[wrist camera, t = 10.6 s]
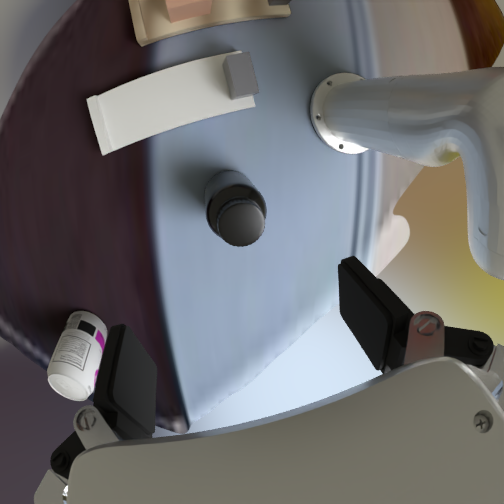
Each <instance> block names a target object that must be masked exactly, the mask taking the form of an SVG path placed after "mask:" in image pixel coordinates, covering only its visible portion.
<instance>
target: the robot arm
mask: <svg viewBox="0 0 504 504" xmlns="http://www.w3.org/2000/svg"><path fill="white" fill-rule="evenodd" d="M327 83H328V85H327ZM310 114H311V120H312V123H313V126H314V129H315V131H316V132H317V134H318V136H319V137H320V138H321V140H322V141H323V142H324V143H325V144H327V145H328V146H329V147H331V148H332V149H334V150H336V151H339V152H342V153H346V154H358V153H362V152H364V151H367V150H368V149H372V150H375V151H379V152H383V153H386V154H389V155H393V156H396V157H399V158H403V159H406V160H409V161H412V162H415V163H418V164H422V165H425V166H433V167H435V166H442V165H446V164H448V163H450V162H452V161H453V160H455V159H456V158H458V157H459V156H461V157H462V161H463V165H464V171H465V180H466V188H467V208H468V209H467V210H468V241H469V247H470V251H471V254H472V256H473V258H474V260H475V261H476V263H477V264H478V265H479V267H480V268H481V269H482V270H484V271H485V272H486V273H488V274H489V275H491V276H493V277H496V278H498V279H501V280H504V67H491V68H483V69H475V70H469V71H462V72H453V73H442V74H425V75H409V76H395V77H384V78H374V79H364V78H363V77H361V76H359V75H356V74H352V73H338V74H334V75H331V76H329V77H327V78H325V79H324V80H323V81H322V82H320V83H319V85H318V86H317V87H316V89H315V91H314V93H313V95H312V99H311V104H310ZM316 116H317V117H318V118H317V119H316ZM338 278H339V302H340V314H341V316H342V318H343V320H344V321H345V323H346V324H347V326H348V327H349V329H350V330H351V331H352V333H353V335H354V336H355V338H356V339H357V341H358V342H359V344H360V345H361V347H362V348H363V350H364V351H365V353H366V355H367V356H368V358H369V359H370V361H371V362H372V364H373V366H374V367H375V369H376V370H381V372H382V373H383V374H382V375H380V376H378V377H376V378H374V379H371V380H369V381H367V382H365V383H362V384H360V385H357V386H355V387H352V388H350V389H348V390H345V391H343V392H340V393H338V394H335V395H333V396H330V397H328V398H325V399H322V400H320V401H317V402H314V403H311V404H308V405H305V406H302V407H299V408H296V409H293V410H290V411H286V412H283V413H280V414H276V415H273V416H269V417H265V418H262V419H258V420H254V421H250V422H246V423H242V424H238V425H233V426H228V427H223V428H218V429H213V430H208V431H202V432H197V433H190V434H183V435H175V436H166V437H158V438H152V433H154V432H155V404H156V381H157V367H156V365H155V363H154V361H153V360H152V359H151V357H150V356H149V355H148V353H147V352H146V350H145V349H144V348H143V346H142V345H141V343H140V342H139V340H138V339H137V338H136V336H135V335H134V333H133V332H132V330H131V329H130V327H129V326H126V325H124V324H120V325H116V326H112V327H111V329H110V333H109V336H108V340H107V343H106V347H105V351H104V355H103V359H102V362H101V367H100V371H99V375H98V379H97V384H96V388H95V393H94V398H93V401H94V405H93V406H85V407H82V408H81V409H80V410H79V411H78V412H77V413H76V415H75V417H74V428H75V432H73V433H72V434H71V435H70V436H69V437H68V438H67V439H66V440H65V441H64V442H63V443H62V444H61V445H60V446H59V447H58V448H57V449H56V450H55V451H54V452H53V453H52V456H51V467H52V470H50V469H48V471H47V473H46V475H45V477H44V478H43V480H42V482H41V484H40V486H39V488H38V489H37V491H36V493H35V496H34V502H35V504H504V346H502V345H500V344H498V345H497V346H495V345H493V341H492V340H491V338H490V337H489V336H488V335H487V334H485V333H484V332H480V331H474V330H467V329H461V328H454V327H448V326H444V322H443V320H442V318H441V317H440V316H439V315H438V314H436V313H434V312H429V311H422V312H418V313H416V314H415V315H414V314H413V312H412V311H411V310H410V309H409V308H408V307H407V306H406V305H405V304H404V303H403V302H402V301H401V300H400V299H399V297H398V296H397V295H396V294H395V293H394V292H393V291H392V290H391V289H390V288H389V287H388V286H387V285H386V284H385V283H384V282H383V281H382V280H381V279H377V278H376V277H375V276H374V275H373V274H372V273H371V272H370V271H369V270H368V269H367V268H366V267H365V266H364V265H363V264H362V263H361V262H360V261H359V260H358V259H357V258H356V257H355V256H351V257H348V258H345V259H342V260H341V264H339V265H338Z"/></svg>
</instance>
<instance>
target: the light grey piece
mask: <svg viewBox="0 0 504 504" xmlns="http://www.w3.org/2000/svg"><path fill="white" fill-rule="evenodd" d="M256 93H259V89H258V85H257V81H256V77H255V73H254V69H253V65H252V61H251V57H250V54H249V52H244V53H242V52H241V51H235V52H230V53H225V54H220V55H216V56H211V57H207V58H203V59H199V60H195V61H191V62H187V63H184V64H180V65H177V66H174V67H170V68H167V69H164V70H161V71H158V72H155V73H152V74H149V75H147V76H144V77H141V78H138V79H136V80H133V81H131V82H128V83H126V84H123V85H121V86H119V87H116V88H114V89H112V90H109V91H107V92H105V93H103V94H101V95H99V96H96V95H94V96H92V97H90V98H88V99H87V103H88V107H89V111H90V115H91V119H92V122H93V126H94V129H95V133H96V136H97V139H98V143H99V146H100V149H101V152H102V155H105V154H107V153H110V152H112V151H114V150H117V149H119V148H122V147H124V146H127V145H129V144H132V143H134V142H137V141H139V140H142V139H145V138H147V137H150V136H153V135H155V134H158V133H161V132H164V131H167V130H170V129H173V128H176V127H179V126H182V125H186V124H189V123H192V122H196V121H199V120H203V119H206V118H210V117H214V116H217V115H221V114H225V113H229V112H233V111H238V110H242V109H247V108H251V107H255V103H254V99H253V95H254V94H256Z"/></svg>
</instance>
